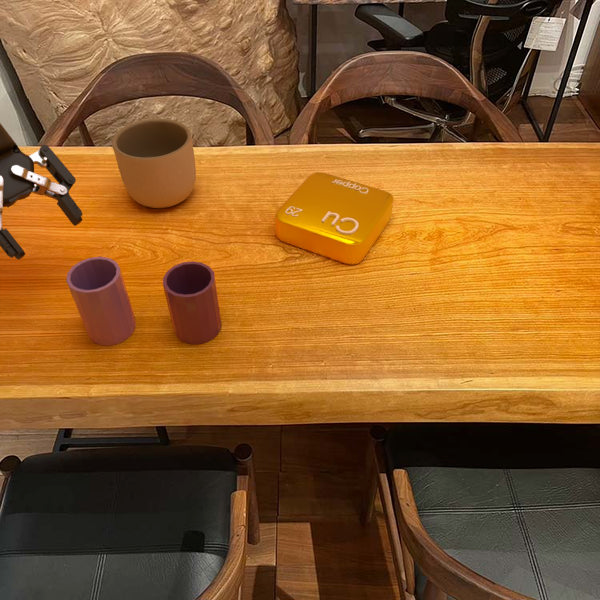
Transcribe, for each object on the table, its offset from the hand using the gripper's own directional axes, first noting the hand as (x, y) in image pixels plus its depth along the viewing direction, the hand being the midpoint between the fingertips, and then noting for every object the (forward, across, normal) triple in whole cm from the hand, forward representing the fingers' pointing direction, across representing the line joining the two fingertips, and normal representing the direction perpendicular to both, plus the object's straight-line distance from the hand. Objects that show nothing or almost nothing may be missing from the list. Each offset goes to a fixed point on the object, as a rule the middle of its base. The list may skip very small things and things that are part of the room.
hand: (51, 239), depth 75 cm
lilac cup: (+14, 0, +3) cm, 14 cm away
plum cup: (+20, +7, -4) cm, 22 cm away
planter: (+2, +26, +15) cm, 30 cm away
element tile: (+22, +36, -5) cm, 43 cm away
